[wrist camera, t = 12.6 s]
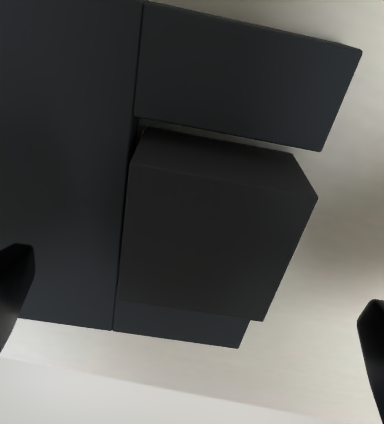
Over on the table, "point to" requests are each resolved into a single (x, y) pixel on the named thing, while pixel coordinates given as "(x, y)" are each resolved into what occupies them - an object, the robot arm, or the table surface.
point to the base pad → (134, 134)
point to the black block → (210, 224)
